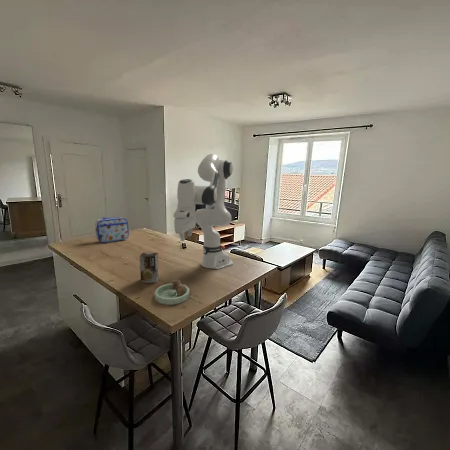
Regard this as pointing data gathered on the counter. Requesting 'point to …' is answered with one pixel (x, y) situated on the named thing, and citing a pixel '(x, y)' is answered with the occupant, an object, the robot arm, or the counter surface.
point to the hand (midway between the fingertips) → (186, 238)
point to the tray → (170, 295)
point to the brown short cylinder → (180, 290)
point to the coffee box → (149, 267)
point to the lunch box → (111, 229)
